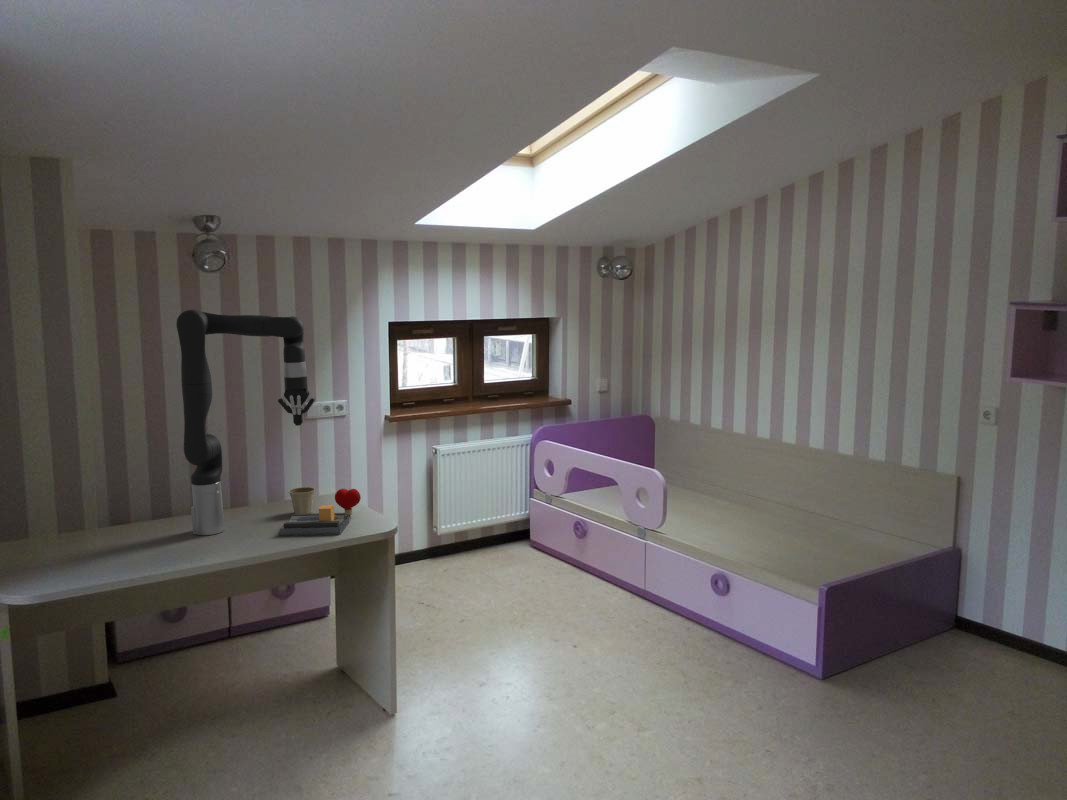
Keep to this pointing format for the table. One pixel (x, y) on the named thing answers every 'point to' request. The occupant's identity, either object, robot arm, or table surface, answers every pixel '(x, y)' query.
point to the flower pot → (302, 499)
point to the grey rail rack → (312, 524)
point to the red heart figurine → (347, 499)
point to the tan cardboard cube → (326, 512)
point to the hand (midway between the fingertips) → (298, 425)
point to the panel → (314, 530)
